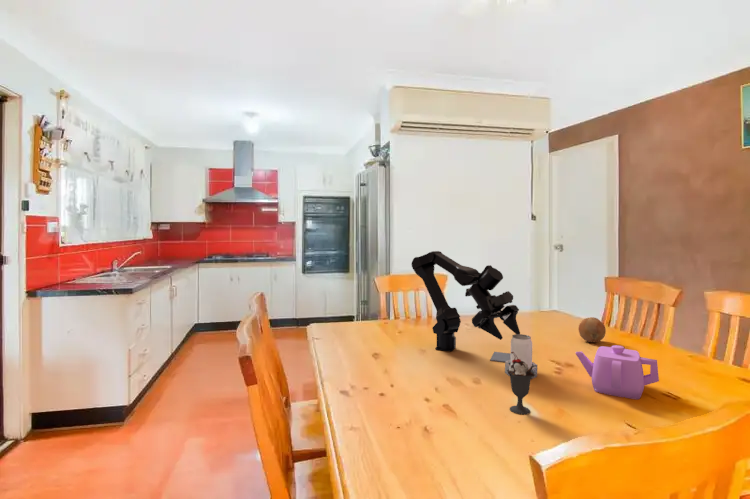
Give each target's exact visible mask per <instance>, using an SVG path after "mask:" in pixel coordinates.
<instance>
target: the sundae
mask: <svg viewBox="0 0 750 499" xmlns="http://www.w3.org/2000/svg"><path fill="white" fill-rule="evenodd" d="M510 353H512V354H513V353H514V352H511V351H510ZM514 354H515V353H514ZM515 355H516V354H515ZM515 355H514V356H515ZM516 357H517V356H516ZM512 362H513V364H511V365H510V367H509V369H508V370H507V372H508V374H509V375H510V376H509V378H510V387H511V392H512V393H513V395H515V396H516V397H517V401H516V402H517V403H516V404H515V405H512V406H510V407H509V410H510V412H512V413H513V412H514V414H515V415H521V414H522V415H523V416H524V414H525V415H529V414H530V413H531V409H529V408H528V407H526V406H524V404H523V399H524V398H525V397H527V395H529V391H530V388H531V387H530V386H531V380H532V379H531V377H533V376H534V371H532V368H533V366H532V367H531V368H530V369H528V365H527V364H526V363H525V362H523V361H521V360H520V359H518V357H517V360H515V359H514V360H512ZM528 413H529V414H528Z"/></svg>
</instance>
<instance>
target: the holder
mask: <svg viewBox="0 0 750 499" xmlns="http://www.w3.org/2000/svg"><path fill="white" fill-rule="evenodd" d="M510 365H511V360H508V361H506V362H504V373H505V374H506V375H507V376H508V377H510V375H509V374H508V372H507V370H508V369H509V367H510ZM532 366H533V368H532V371H534V376H533V377H531V380H533V379H535V378H537V377H538V364H537V363H535V362H534V361H532ZM528 369H530V368H528Z"/></svg>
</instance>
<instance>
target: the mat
mask: <svg viewBox="0 0 750 499" xmlns="http://www.w3.org/2000/svg"><path fill="white" fill-rule="evenodd" d="M489 360H490V361H491V362H498V363H499V362H500V363H505V362H506V361H508V360H511V352H508V353H507V352H501V351H493V354H492V355H491V357H490V359H489Z"/></svg>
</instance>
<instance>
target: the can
mask: <svg viewBox="0 0 750 499" xmlns="http://www.w3.org/2000/svg"><path fill="white" fill-rule="evenodd" d="M531 338H532V336H530V335H527V334H521V333H520V334H515V333H514V334H512V336H511V340H510V353H511V352H514V353H515V354H516V355H515V354H514V353H513V354H512V353H511V364H513V362H512V360H514V359H515V360H517V357H518V359H520V360H521V361H523V362H525V363H526V364H527V365H528V368H531V367H532V362H533V341H532V339H531ZM514 355H515V356H514ZM516 356H517V357H516Z"/></svg>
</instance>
